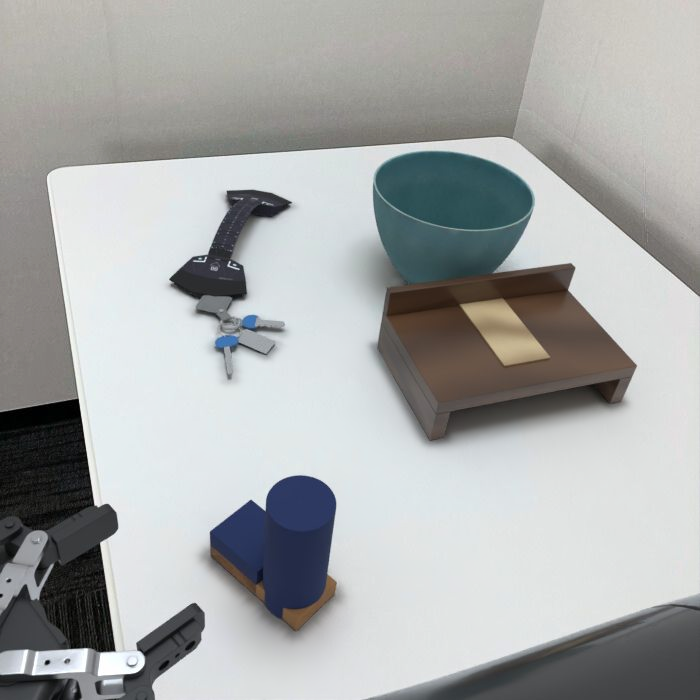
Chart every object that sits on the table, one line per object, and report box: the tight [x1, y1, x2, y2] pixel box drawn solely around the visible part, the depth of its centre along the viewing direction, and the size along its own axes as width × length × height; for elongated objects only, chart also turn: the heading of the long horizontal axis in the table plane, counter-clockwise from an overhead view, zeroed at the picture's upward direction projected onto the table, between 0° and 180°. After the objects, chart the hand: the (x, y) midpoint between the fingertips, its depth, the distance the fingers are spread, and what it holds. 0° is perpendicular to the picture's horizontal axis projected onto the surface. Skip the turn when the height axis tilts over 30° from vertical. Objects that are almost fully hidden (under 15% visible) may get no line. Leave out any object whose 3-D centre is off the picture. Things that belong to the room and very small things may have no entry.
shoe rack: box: [376, 262, 638, 441], centre depth 79 cm, size 14×22×8 cm, turn 110°
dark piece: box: [168, 189, 293, 299], centre depth 95 cm, size 9×25×3 cm, turn 170°
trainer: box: [209, 474, 337, 631], centre depth 57 cm, size 9×5×11 cm, turn 50°
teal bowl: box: [372, 150, 536, 284], centre depth 91 cm, size 18×18×12 cm
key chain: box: [195, 295, 286, 376], centre depth 83 cm, size 14×8×1 cm, turn 24°
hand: (155, 563), depth 44 cm, fingers open, 8 cm apart
